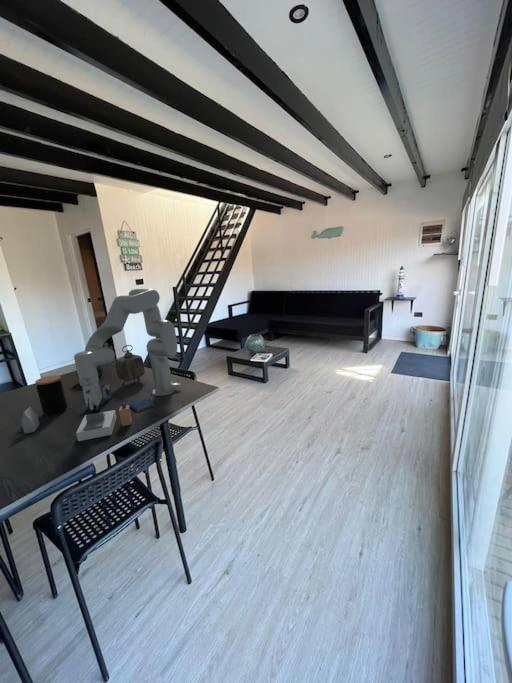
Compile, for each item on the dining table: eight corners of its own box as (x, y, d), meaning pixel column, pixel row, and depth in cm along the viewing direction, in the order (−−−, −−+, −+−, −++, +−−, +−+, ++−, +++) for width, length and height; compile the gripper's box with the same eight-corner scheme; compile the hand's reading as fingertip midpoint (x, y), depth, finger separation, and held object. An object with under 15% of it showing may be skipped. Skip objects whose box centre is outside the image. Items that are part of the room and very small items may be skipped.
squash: (90, 367, 200) (76, 356, 188) (110, 368, 198) (98, 357, 186) (81, 386, 193) (67, 376, 180) (102, 388, 191) (89, 377, 178)
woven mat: (156, 406, 153) (156, 402, 152) (137, 413, 146) (136, 410, 145) (147, 400, 160) (147, 396, 160) (128, 407, 153) (127, 403, 152)
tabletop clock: (139, 378, 191) (133, 341, 185) (148, 381, 186) (142, 343, 180) (118, 386, 180) (111, 347, 174) (127, 389, 175) (119, 349, 168)
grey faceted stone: (39, 424, 139) (34, 405, 137) (34, 431, 133) (28, 412, 130) (30, 426, 138) (25, 407, 136) (24, 433, 132) (18, 413, 129)
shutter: (105, 419, 132) (103, 411, 131) (102, 427, 125) (100, 419, 124) (87, 422, 130) (86, 414, 129) (84, 430, 123) (82, 422, 122)
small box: (99, 407, 154) (95, 388, 151) (88, 406, 155) (84, 388, 152) (112, 398, 164) (109, 380, 161) (102, 397, 165) (99, 380, 162)
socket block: (116, 417, 142) (115, 409, 141) (111, 434, 127) (109, 426, 126) (86, 422, 138) (85, 415, 137) (78, 441, 124) (76, 432, 123)
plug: (131, 420, 139) (128, 401, 136) (131, 424, 135) (127, 404, 132) (122, 421, 138) (119, 402, 135) (121, 426, 134) (118, 406, 131)
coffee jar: (72, 407, 155) (65, 375, 150) (53, 417, 145) (45, 384, 140) (58, 405, 158) (50, 374, 154) (38, 415, 149) (29, 382, 144)
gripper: (94, 384, 122) (103, 423, 127) (101, 372, 136) (108, 408, 141) (74, 387, 120) (83, 426, 125) (83, 374, 134) (91, 411, 139)
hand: (96, 416), depth 133 cm, fingers closed
